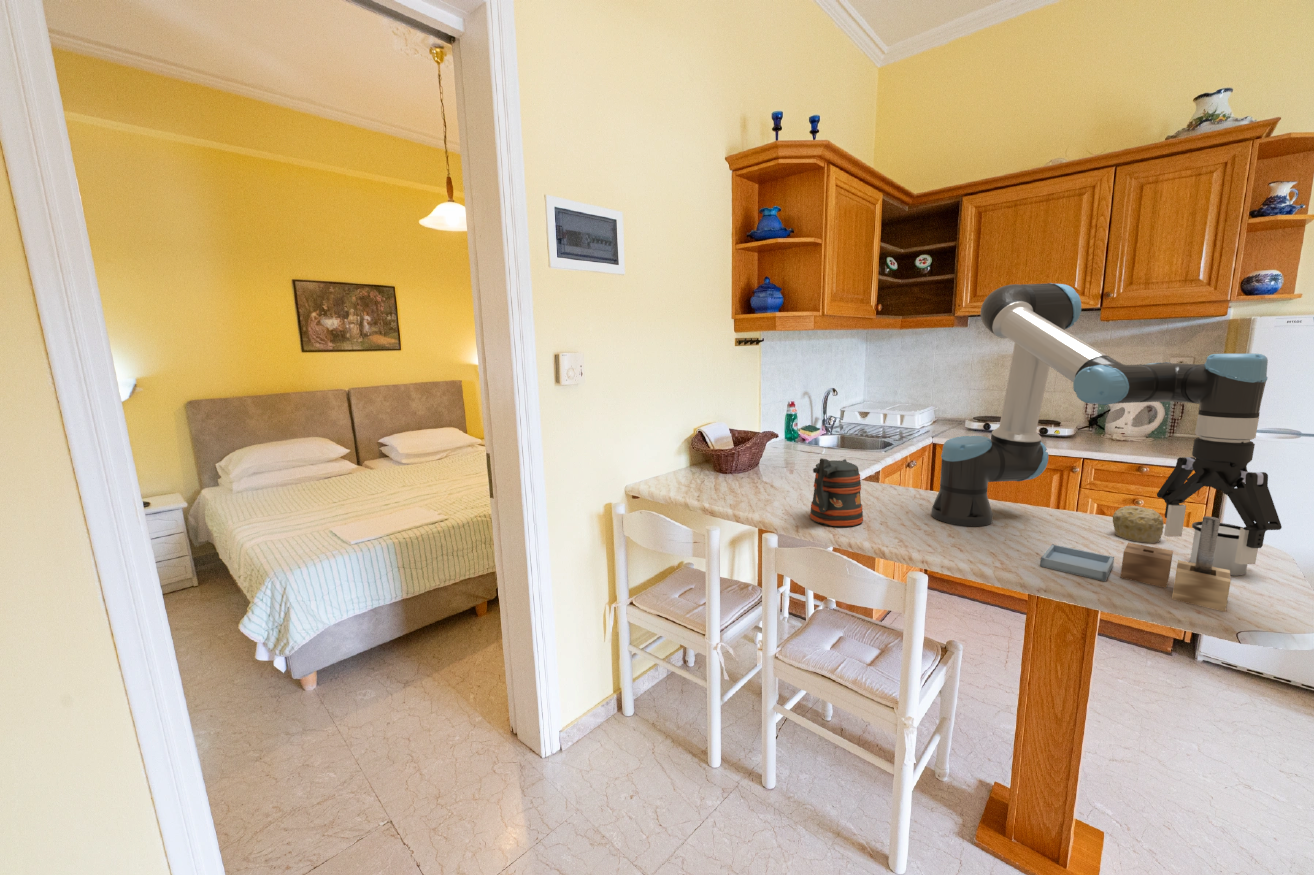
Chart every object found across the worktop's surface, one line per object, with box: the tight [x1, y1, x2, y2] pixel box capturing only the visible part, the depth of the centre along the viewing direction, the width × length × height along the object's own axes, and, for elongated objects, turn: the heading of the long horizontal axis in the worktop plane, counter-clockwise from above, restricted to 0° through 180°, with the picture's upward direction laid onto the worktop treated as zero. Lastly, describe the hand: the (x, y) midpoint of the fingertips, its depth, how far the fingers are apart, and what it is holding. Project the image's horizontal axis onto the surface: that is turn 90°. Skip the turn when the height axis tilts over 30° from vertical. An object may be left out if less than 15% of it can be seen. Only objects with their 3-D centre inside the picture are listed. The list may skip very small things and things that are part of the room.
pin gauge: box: [1194, 515, 1221, 575], centre depth 98 cm, size 2×2×15 cm
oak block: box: [1171, 559, 1231, 613], centre depth 99 cm, size 7×7×6 cm
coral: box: [1112, 505, 1165, 544], centre depth 130 cm, size 9×9×8 cm
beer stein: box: [809, 458, 864, 528], centre depth 147 cm, size 19×15×20 cm
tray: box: [1039, 543, 1115, 582], centre depth 115 cm, size 11×11×2 cm
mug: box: [1189, 520, 1248, 577], centre depth 112 cm, size 12×10×9 cm
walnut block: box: [1120, 542, 1174, 589], centre depth 108 cm, size 7×7×6 cm
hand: (1206, 549), depth 98 cm, fingers open, 13 cm apart
